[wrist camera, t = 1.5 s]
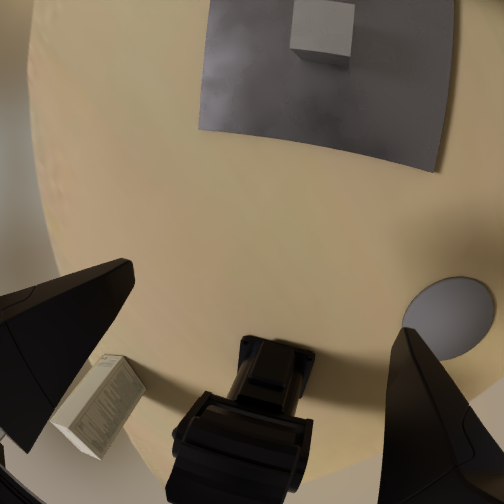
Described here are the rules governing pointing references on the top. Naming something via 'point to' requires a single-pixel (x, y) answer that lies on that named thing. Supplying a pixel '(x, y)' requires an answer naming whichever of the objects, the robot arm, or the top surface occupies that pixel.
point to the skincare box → (99, 405)
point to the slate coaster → (451, 316)
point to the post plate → (331, 74)
